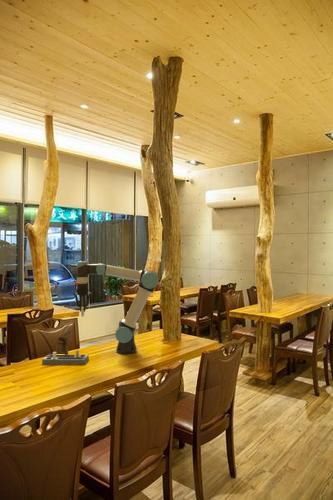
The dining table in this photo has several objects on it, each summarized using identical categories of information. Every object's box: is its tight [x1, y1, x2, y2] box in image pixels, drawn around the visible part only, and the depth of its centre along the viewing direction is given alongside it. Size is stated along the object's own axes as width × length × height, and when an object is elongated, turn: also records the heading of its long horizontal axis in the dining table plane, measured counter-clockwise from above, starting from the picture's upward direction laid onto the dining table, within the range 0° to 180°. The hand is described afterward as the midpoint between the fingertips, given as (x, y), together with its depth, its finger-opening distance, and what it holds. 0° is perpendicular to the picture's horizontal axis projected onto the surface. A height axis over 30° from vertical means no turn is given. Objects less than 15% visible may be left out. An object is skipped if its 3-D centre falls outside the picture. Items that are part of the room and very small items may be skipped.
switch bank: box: [41, 354, 90, 365], centre depth 240 cm, size 28×12×3 cm, turn 90°
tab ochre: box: [74, 349, 82, 357], centre depth 243 cm, size 4×3×5 cm
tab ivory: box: [51, 351, 58, 359], centre depth 237 cm, size 4×3×5 cm
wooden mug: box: [55, 330, 72, 355], centre depth 258 cm, size 9×14×18 cm, turn 49°
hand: (82, 316), depth 253 cm, fingers closed
